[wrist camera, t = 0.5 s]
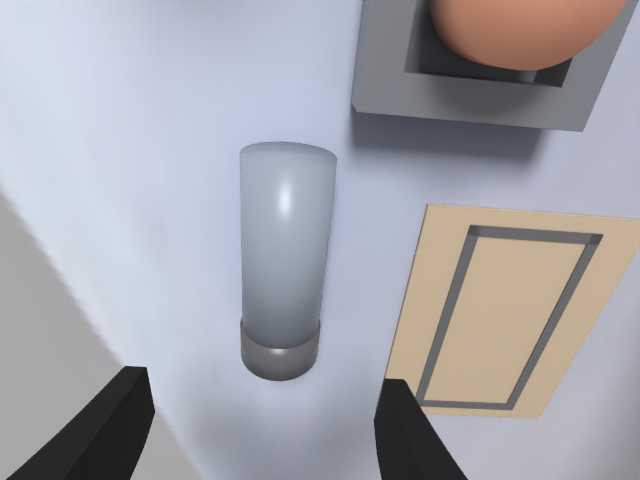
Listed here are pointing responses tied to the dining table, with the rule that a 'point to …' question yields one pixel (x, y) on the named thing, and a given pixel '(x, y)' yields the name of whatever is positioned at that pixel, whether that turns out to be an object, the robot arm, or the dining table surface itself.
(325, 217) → the squeeze tube
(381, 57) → the button base
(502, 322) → the tan rectangular board
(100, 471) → the robot arm
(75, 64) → the dining table surface
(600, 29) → the button
